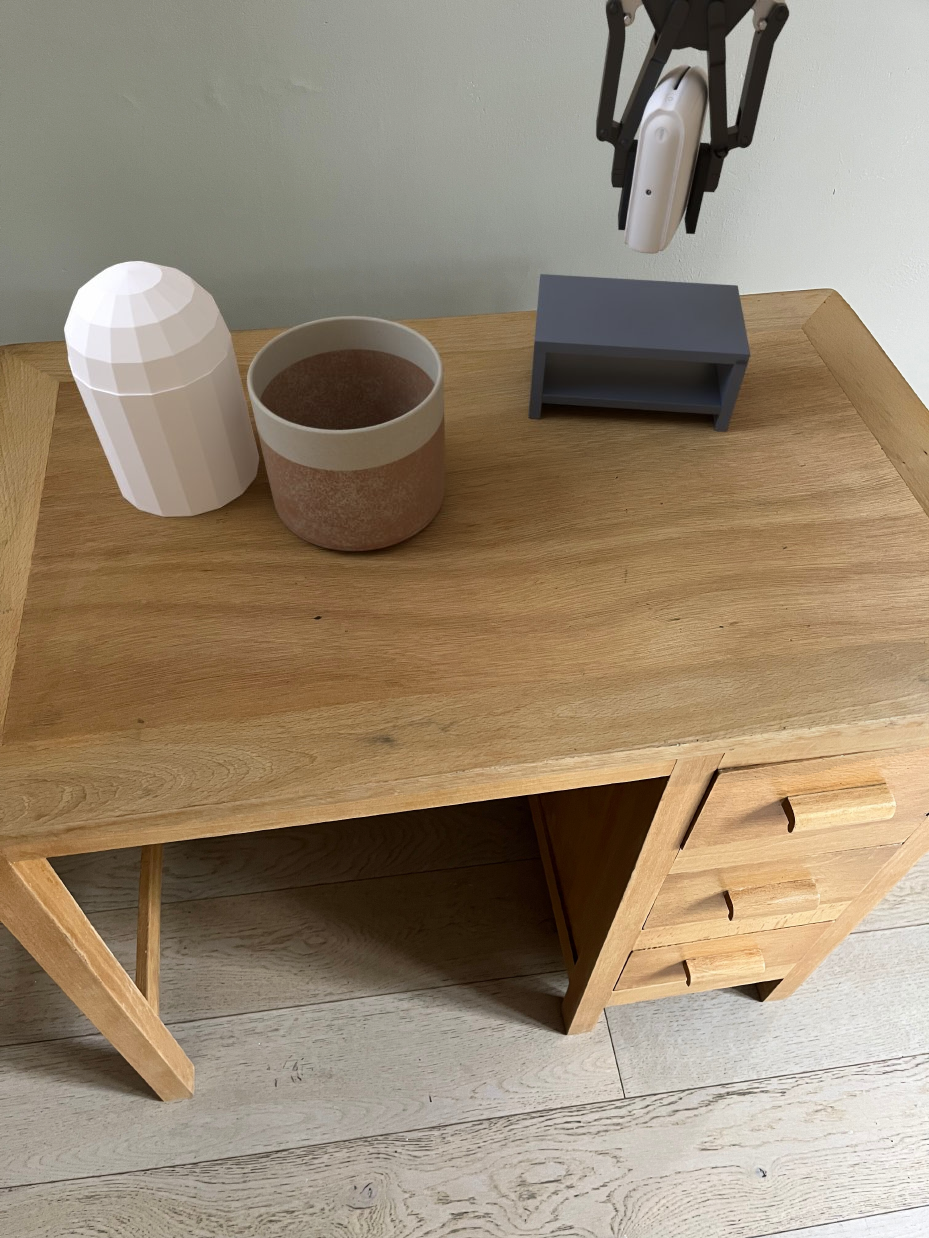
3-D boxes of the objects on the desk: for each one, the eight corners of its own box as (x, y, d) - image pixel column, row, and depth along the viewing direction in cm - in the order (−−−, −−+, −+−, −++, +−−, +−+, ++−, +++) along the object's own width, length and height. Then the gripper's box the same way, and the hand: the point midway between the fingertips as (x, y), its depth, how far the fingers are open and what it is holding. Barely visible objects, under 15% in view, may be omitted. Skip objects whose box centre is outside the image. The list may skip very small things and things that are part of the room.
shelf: (717, 361, 94) (737, 285, 87) (726, 431, 86) (750, 354, 79) (534, 350, 95) (540, 273, 88) (528, 418, 87) (534, 340, 80)
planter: (266, 454, 84) (237, 329, 73) (424, 429, 86) (419, 304, 75) (286, 571, 74) (257, 447, 63) (463, 539, 77) (464, 414, 66)
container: (118, 434, 85) (43, 239, 70) (254, 415, 87) (210, 221, 72) (116, 527, 77) (30, 330, 62) (266, 504, 79) (218, 308, 64)
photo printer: (665, 259, 73) (696, 100, 64) (617, 250, 74) (639, 92, 65) (691, 206, 79) (723, 53, 70) (646, 198, 80) (671, 46, 71)
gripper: (844, -120, 60) (754, 210, 78) (583, -128, 61) (554, 199, 79) (864, -92, 56) (764, 251, 74) (582, -101, 57) (551, 240, 75)
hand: (655, 224), depth 77 cm, fingers closed on photo printer, 5 cm apart
